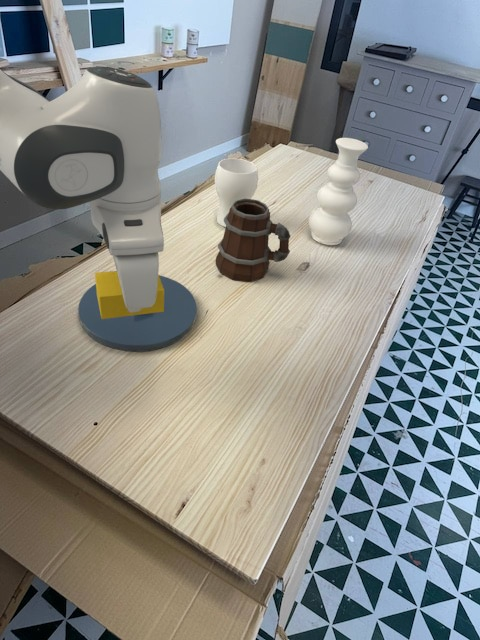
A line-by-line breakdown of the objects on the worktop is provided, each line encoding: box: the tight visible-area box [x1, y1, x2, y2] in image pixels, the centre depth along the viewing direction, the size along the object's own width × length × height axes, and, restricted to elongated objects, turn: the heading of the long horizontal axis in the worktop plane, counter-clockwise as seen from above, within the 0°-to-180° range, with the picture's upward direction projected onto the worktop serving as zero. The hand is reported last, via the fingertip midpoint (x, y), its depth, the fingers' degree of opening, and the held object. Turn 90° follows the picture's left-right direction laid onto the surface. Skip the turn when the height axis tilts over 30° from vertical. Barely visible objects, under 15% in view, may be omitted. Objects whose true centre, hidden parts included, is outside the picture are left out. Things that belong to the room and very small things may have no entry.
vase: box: [308, 137, 369, 246], centre depth 113 cm, size 11×11×25 cm
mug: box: [215, 198, 291, 283], centre depth 101 cm, size 16×12×15 cm
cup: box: [214, 157, 259, 228], centre depth 117 cm, size 11×11×15 cm
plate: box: [77, 274, 198, 352], centre depth 89 cm, size 22×22×2 cm
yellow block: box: [94, 270, 164, 319], centre depth 69 cm, size 9×6×4 cm, turn 109°
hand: (129, 294), depth 69 cm, fingers closed on yellow block, 6 cm apart
